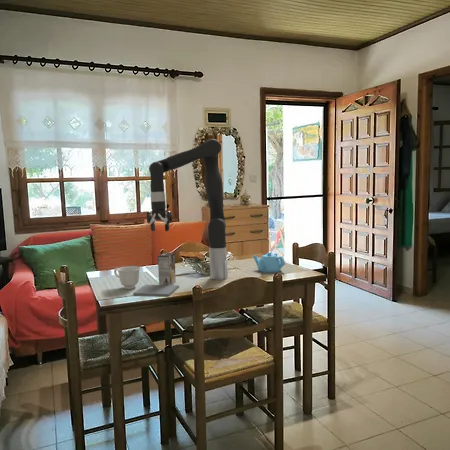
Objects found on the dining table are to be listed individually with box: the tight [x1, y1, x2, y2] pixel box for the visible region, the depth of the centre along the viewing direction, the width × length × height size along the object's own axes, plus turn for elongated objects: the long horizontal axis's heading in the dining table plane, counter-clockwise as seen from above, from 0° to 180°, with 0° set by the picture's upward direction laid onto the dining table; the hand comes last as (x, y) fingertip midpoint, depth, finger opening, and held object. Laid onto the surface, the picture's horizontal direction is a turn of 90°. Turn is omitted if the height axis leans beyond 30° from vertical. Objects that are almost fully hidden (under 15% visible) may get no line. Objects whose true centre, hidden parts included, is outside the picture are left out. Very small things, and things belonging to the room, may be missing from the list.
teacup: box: [113, 265, 142, 290], centre depth 220 cm, size 12×15×10 cm
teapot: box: [253, 251, 286, 274], centre depth 251 cm, size 15×15×11 cm
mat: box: [132, 284, 180, 297], centre depth 212 cm, size 18×16×1 cm
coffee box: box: [157, 252, 177, 285], centre depth 224 cm, size 9×6×16 cm
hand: (160, 231), depth 226 cm, fingers open, 8 cm apart
